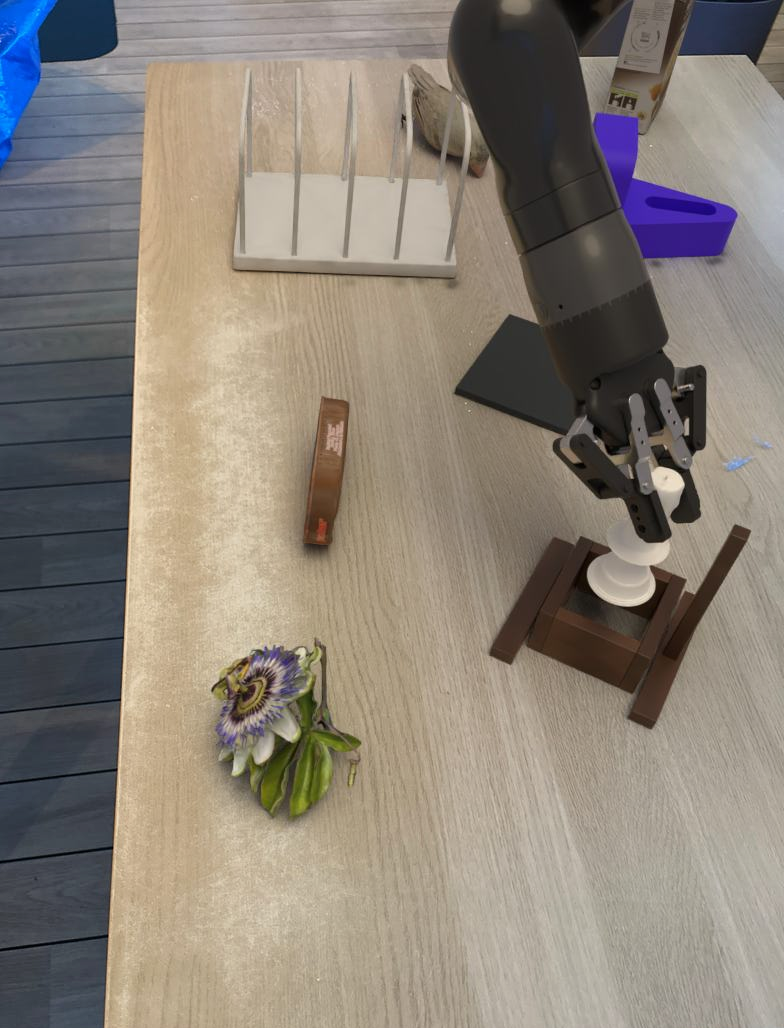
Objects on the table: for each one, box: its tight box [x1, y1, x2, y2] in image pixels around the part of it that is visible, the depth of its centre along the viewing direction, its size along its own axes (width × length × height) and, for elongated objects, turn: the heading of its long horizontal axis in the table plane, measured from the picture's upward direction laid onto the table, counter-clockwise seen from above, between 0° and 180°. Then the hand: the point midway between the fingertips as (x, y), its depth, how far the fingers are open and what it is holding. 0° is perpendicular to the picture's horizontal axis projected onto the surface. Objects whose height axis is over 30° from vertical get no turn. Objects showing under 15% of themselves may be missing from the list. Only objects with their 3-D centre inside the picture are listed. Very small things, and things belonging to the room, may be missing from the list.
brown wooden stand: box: [488, 523, 752, 730], centre depth 77 cm, size 14×14×16 cm
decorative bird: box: [401, 63, 490, 178], centre depth 125 cm, size 5×16×8 cm, turn 33°
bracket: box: [592, 112, 738, 259], centre depth 113 cm, size 18×11×12 cm, turn 78°
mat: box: [454, 313, 631, 451], centre depth 101 cm, size 20×14×1 cm
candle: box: [587, 467, 685, 607], centre depth 74 cm, size 5×5×12 cm
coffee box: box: [602, 0, 696, 135], centre depth 128 cm, size 9×6×16 cm
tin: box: [302, 395, 350, 546], centre depth 88 cm, size 15×3×8 cm, turn 175°
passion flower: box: [210, 636, 362, 822], centre depth 73 cm, size 11×11×12 cm
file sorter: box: [232, 67, 471, 279], centre depth 110 cm, size 25×17×16 cm
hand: (673, 529), depth 71 cm, fingers closed on candle, 2 cm apart
